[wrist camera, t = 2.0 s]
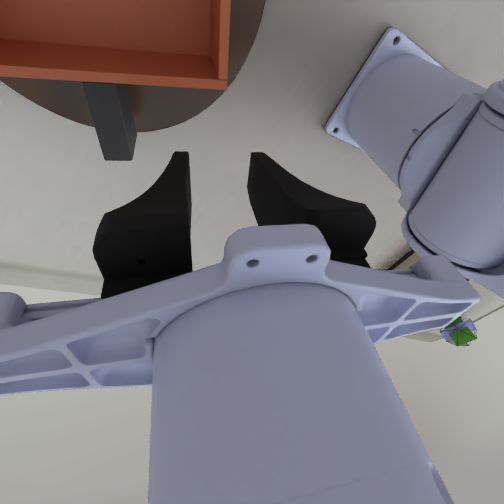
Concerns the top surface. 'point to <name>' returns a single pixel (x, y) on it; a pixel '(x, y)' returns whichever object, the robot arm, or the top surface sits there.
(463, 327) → the geometric puzzle
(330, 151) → the top surface
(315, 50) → the top surface
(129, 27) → the bin
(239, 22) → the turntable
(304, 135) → the top surface
